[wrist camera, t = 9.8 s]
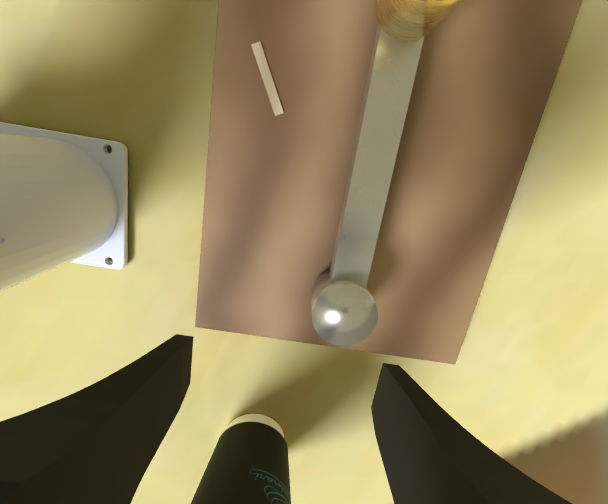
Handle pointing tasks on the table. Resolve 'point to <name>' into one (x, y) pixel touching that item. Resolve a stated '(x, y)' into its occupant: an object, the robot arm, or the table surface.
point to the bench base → (338, 154)
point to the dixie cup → (247, 465)
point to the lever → (372, 169)
